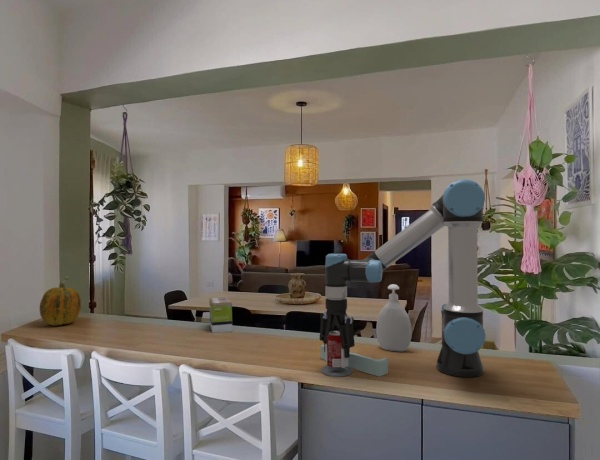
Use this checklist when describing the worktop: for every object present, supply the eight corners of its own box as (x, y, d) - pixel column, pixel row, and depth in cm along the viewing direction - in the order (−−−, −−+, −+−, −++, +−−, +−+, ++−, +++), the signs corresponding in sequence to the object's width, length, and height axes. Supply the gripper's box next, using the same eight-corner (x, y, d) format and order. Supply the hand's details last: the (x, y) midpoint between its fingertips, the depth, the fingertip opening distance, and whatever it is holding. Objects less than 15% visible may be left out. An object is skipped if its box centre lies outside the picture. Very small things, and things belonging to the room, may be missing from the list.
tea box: (209, 326, 209) (209, 297, 209) (228, 325, 212) (228, 296, 212) (211, 333, 195) (211, 302, 195) (232, 331, 198) (232, 301, 198)
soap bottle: (414, 349, 167) (413, 283, 167) (409, 354, 160) (409, 286, 160) (379, 344, 174) (379, 282, 174) (374, 349, 166) (373, 284, 167)
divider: (387, 373, 138) (387, 358, 138) (379, 376, 135) (379, 361, 135) (329, 355, 158) (329, 343, 158) (320, 358, 155) (320, 345, 155)
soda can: (345, 371, 137) (345, 335, 137) (325, 369, 138) (325, 334, 138) (347, 364, 143) (347, 330, 143) (328, 363, 144) (328, 329, 145)
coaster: (358, 371, 140) (358, 370, 140) (337, 379, 133) (337, 378, 133) (335, 364, 148) (335, 362, 148) (314, 371, 141) (314, 369, 141)
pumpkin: (76, 319, 227) (76, 274, 227) (84, 325, 212) (84, 277, 213) (37, 324, 215) (37, 277, 215) (42, 330, 200) (42, 280, 201)
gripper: (365, 300, 136) (366, 368, 136) (323, 293, 150) (323, 355, 150) (351, 302, 131) (351, 373, 131) (308, 296, 145) (309, 360, 145)
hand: (336, 364), depth 141 cm, fingers closed on soda can, 7 cm apart
